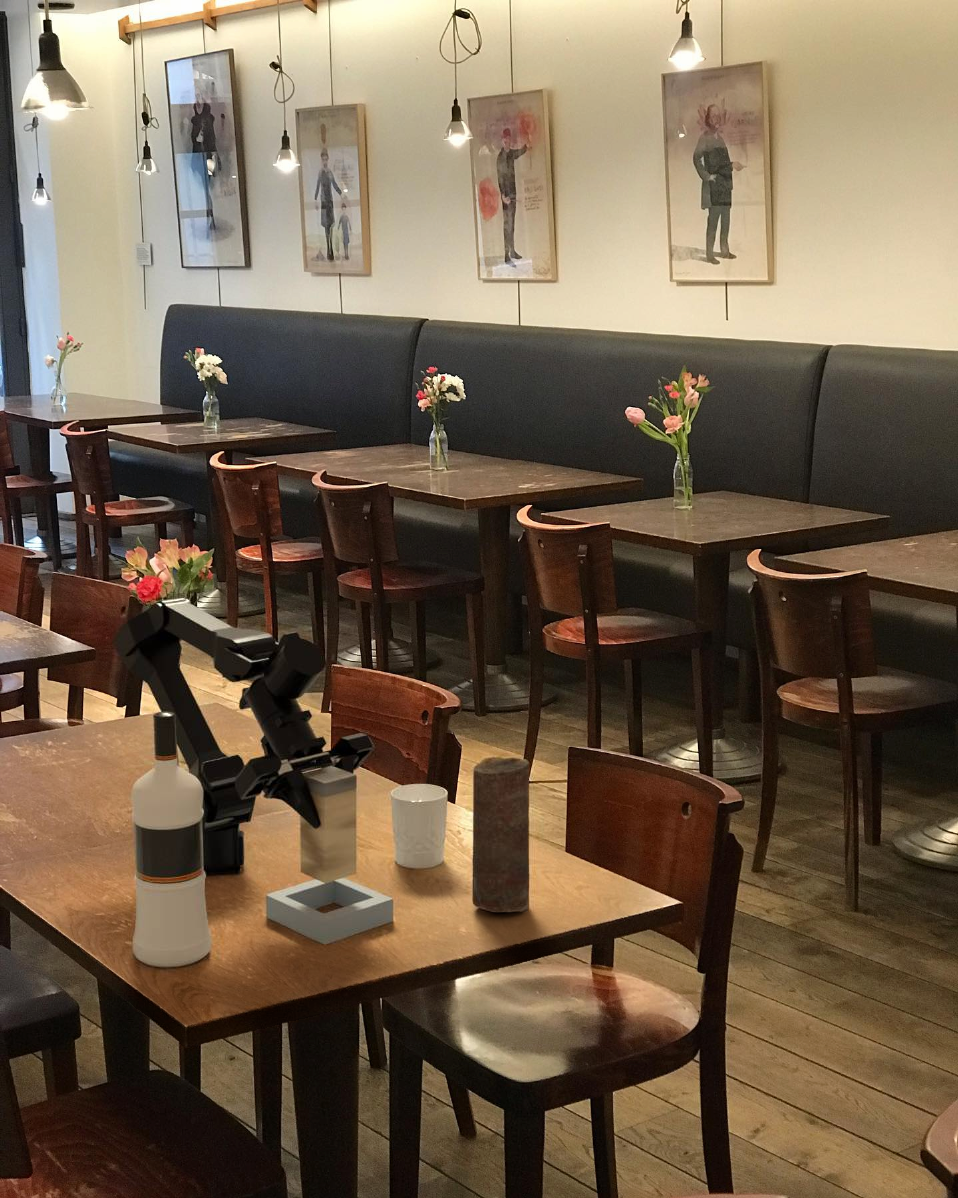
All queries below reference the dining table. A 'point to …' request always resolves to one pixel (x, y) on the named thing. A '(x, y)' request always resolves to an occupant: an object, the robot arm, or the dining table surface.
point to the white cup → (419, 824)
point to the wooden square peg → (330, 825)
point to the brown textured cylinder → (501, 834)
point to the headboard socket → (353, 918)
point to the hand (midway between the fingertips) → (335, 822)
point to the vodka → (169, 858)
